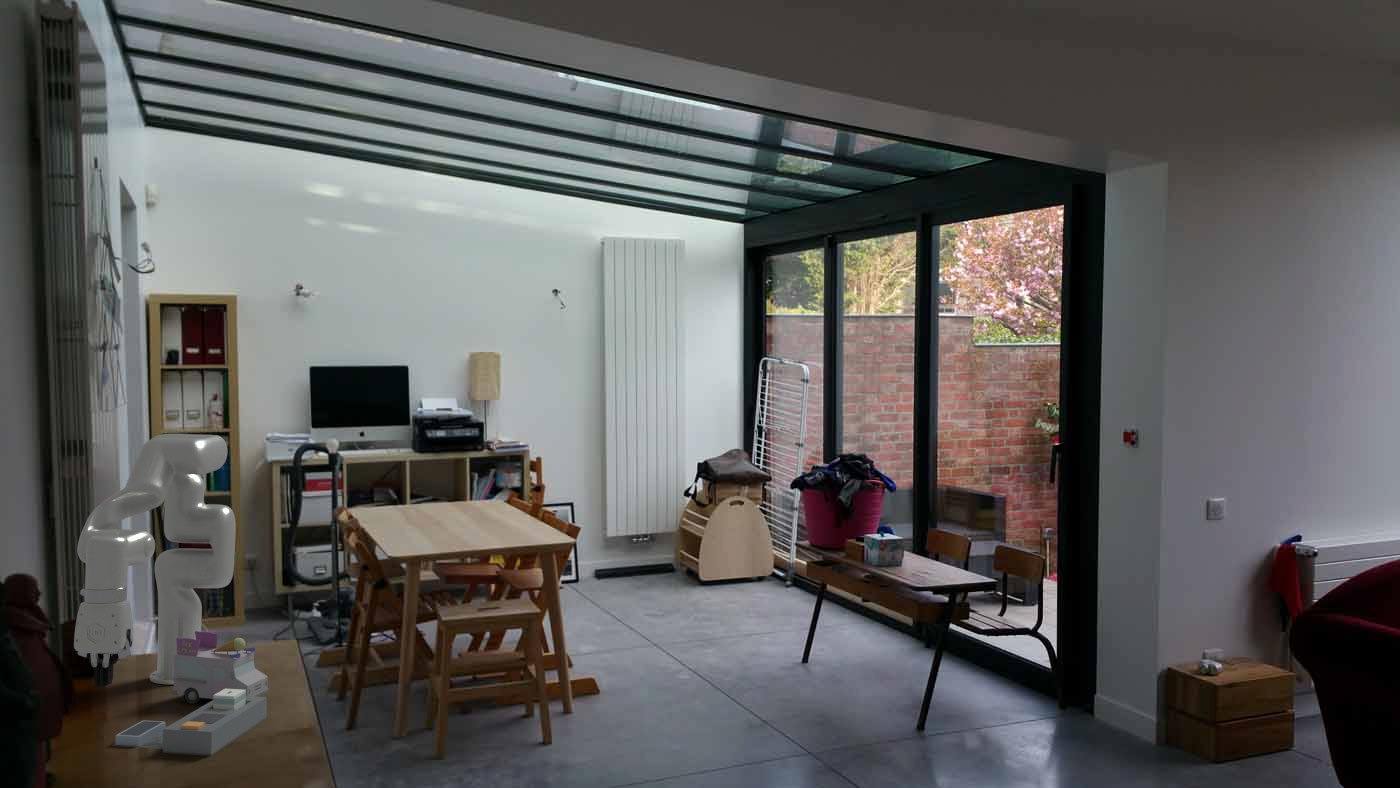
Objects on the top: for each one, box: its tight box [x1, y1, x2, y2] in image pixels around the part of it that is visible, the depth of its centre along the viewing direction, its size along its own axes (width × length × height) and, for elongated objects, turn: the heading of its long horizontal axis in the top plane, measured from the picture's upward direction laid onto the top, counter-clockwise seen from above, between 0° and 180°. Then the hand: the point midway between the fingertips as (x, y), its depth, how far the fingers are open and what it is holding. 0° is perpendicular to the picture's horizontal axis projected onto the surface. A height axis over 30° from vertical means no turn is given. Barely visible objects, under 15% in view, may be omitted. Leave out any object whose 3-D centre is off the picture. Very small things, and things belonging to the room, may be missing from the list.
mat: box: [111, 733, 163, 750], centre depth 212 cm, size 10×12×1 cm
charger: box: [212, 689, 246, 710], centre depth 220 cm, size 5×5×7 cm
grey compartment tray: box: [162, 696, 268, 757], centre depth 215 cm, size 22×10×6 cm, turn 176°
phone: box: [114, 719, 167, 746], centre depth 212 cm, size 9×5×2 cm, turn 176°
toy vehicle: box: [171, 631, 270, 705], centre depth 237 cm, size 9×20×15 cm, turn 78°
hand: (103, 684), depth 212 cm, fingers closed
